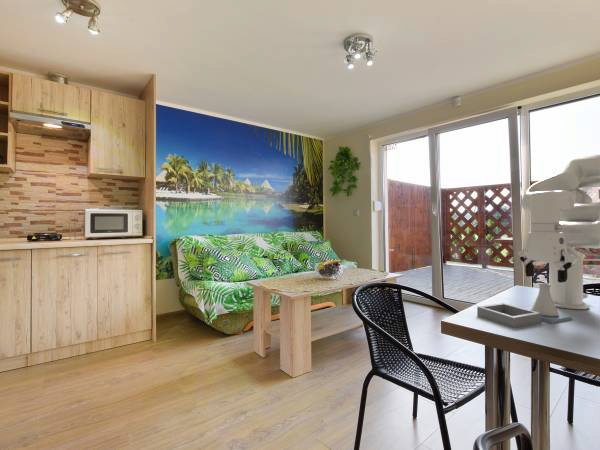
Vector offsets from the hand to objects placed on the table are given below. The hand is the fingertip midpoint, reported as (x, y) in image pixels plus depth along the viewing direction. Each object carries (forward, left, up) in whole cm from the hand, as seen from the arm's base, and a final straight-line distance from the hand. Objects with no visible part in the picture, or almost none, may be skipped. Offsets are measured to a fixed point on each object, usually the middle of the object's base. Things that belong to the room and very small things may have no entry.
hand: (545, 278), depth 99 cm
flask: (+1, 0, -12) cm, 12 cm away
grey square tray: (+14, -3, -13) cm, 19 cm away
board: (+1, 0, -13) cm, 13 cm away
